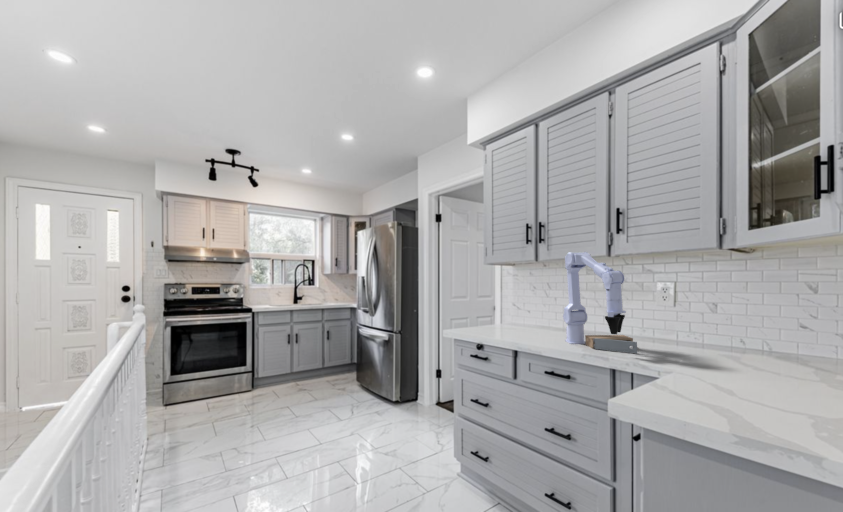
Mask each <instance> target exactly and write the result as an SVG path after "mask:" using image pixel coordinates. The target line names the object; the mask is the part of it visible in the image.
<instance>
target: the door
mask: <svg viewBox="0 0 843 512" xmlns="http://www.w3.org/2000/svg"><path fill="white" fill-rule="evenodd" d="M593 342H594V343H595V344H594V348H595V349H594V350H600V351H601V350H603V351H611V352H621V353H631V354H632V353H633V354H638V341H634V340H633V341H622V340H610V339H598V338H595V339H593Z"/></svg>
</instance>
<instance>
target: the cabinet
mask: <svg viewBox="0 0 843 512" xmlns="http://www.w3.org/2000/svg"><path fill="white" fill-rule="evenodd" d="M595 338H598V339H610V340H622V341H633V342H634V338H633V337H631V336H627V335H624V334H597V335H596V334H590V335H589V334H584V341H585V342H586V344H585V346H586V347H588V348H591V349H593V350H596V349H595V348H594V344H595V343H594V342H593V339H595Z"/></svg>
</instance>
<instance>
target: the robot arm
mask: <svg viewBox="0 0 843 512" xmlns="http://www.w3.org/2000/svg"><path fill="white" fill-rule="evenodd" d="M564 263H565V265H564V266H565V269H566V279H567V280H566V281H567V293H568V304H567V305H566V306H565V307H563V315H562V317H563V322H565V324H566V329H565V330H566V339H564V341H565V342H567V343H568V344H570V345H586V340H585V329H584V328H585V327H584V325H585V324H586V323H587V321H588V313H587V311H586V307H585V306H584V305H582V303H581V291H580V288H581V287H580V275H579V274H580V273H579V272H580V271H581V270H582V269H584V268H585V267H586V266H587V267H589V268H590V269H592V271H593V273H594V274H595V275H596V276H597V277H599V278H600V279H601V280H602V283H603V286H604V289H605V294H606V297H605V298H606V313H607V315H606V316H604V319H605V320H606V322H607V323H606V324H607V325H608V328H609V332H610V335H618V333H621V332H622V326H623V321H624V319H625V317H626V315H625V313H627V311H626V310H623V297H622V296H623V294H622V285H623V284H624V281H625V275H624V273H623V272H622V271H621V270H614V268H612V267H610V266H608V265H607V264H606V262H598V261H597V260H595V259H594V258H593V257H592V255H591V254H590V253H589V252H588V251H584V252H582V251H581V252H579V251H578V252H573V251H569V252H567V254H566V255H565V257H564Z"/></svg>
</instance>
